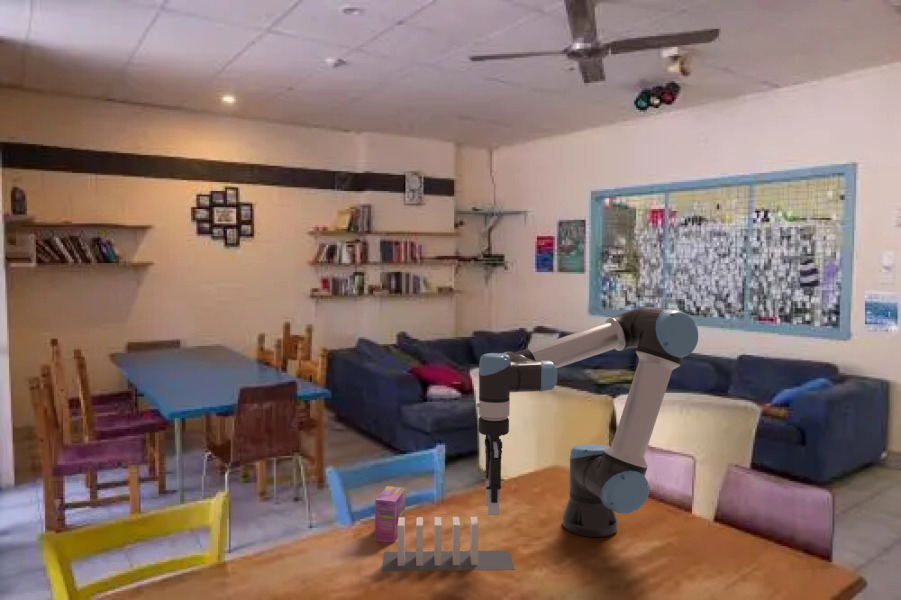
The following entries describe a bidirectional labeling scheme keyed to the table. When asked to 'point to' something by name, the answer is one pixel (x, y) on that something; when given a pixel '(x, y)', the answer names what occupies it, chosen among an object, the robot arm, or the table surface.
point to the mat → (449, 561)
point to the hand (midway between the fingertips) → (492, 509)
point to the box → (389, 513)
